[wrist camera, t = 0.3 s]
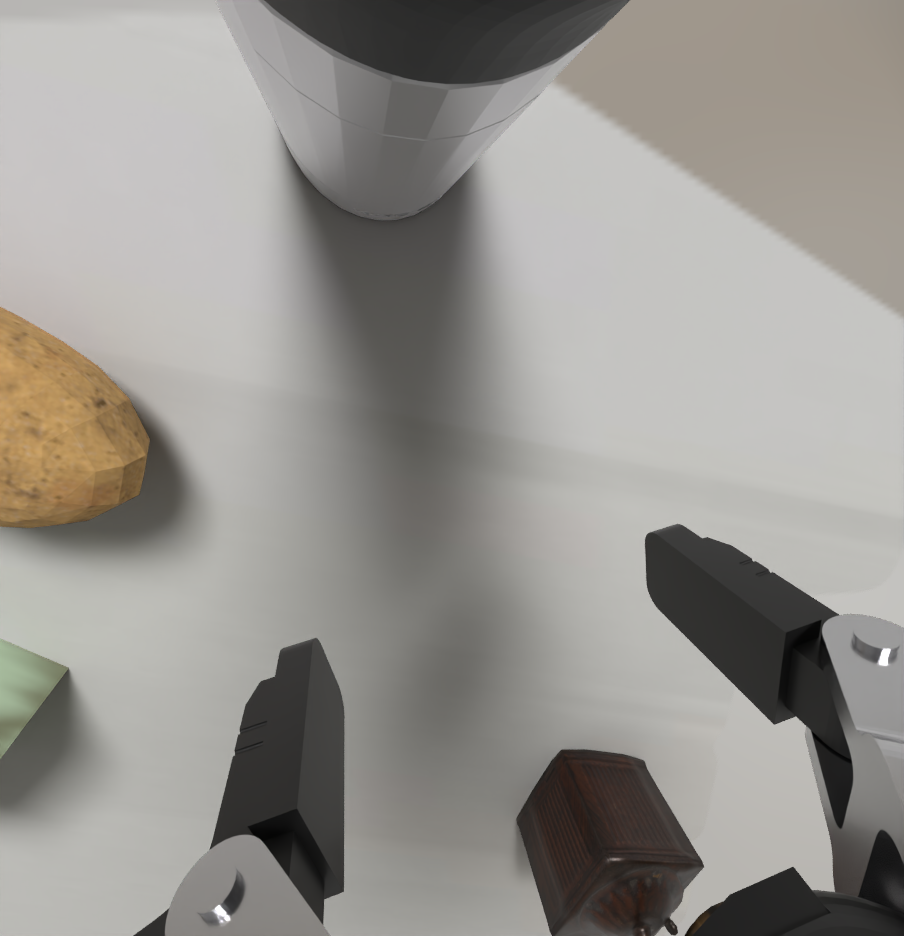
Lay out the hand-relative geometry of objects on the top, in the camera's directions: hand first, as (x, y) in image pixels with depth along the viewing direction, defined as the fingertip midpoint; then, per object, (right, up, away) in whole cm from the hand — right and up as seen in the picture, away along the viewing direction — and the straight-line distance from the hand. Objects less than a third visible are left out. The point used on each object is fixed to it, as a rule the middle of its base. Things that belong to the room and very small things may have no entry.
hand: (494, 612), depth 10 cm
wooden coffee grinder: (+13, -27, +34) cm, 46 cm away
